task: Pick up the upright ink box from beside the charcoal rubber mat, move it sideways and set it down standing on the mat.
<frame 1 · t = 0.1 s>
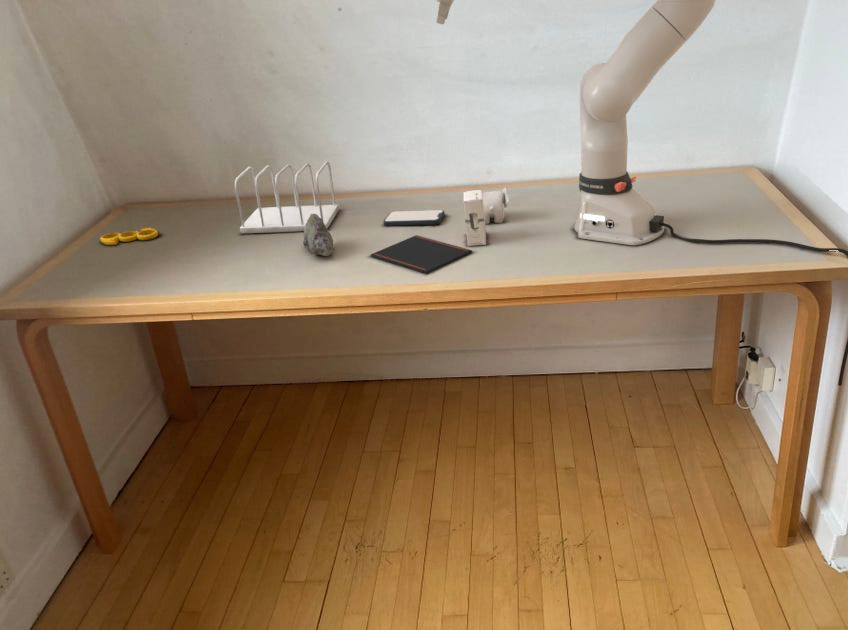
hand: (441, 21, 178), 52 cm above the table, tool tilted 20°, fingers open, 8 cm apart
mineral rock: (318, 253, 200), on the table
elephant figurine: (491, 220, 211), on the table
file sorter: (291, 222, 224), on the table
ink box: (476, 240, 199), on the table
smartphone: (414, 221, 216), on the table
yellow linked rings: (130, 239, 224), on the table
mat: (421, 254, 193), on the table
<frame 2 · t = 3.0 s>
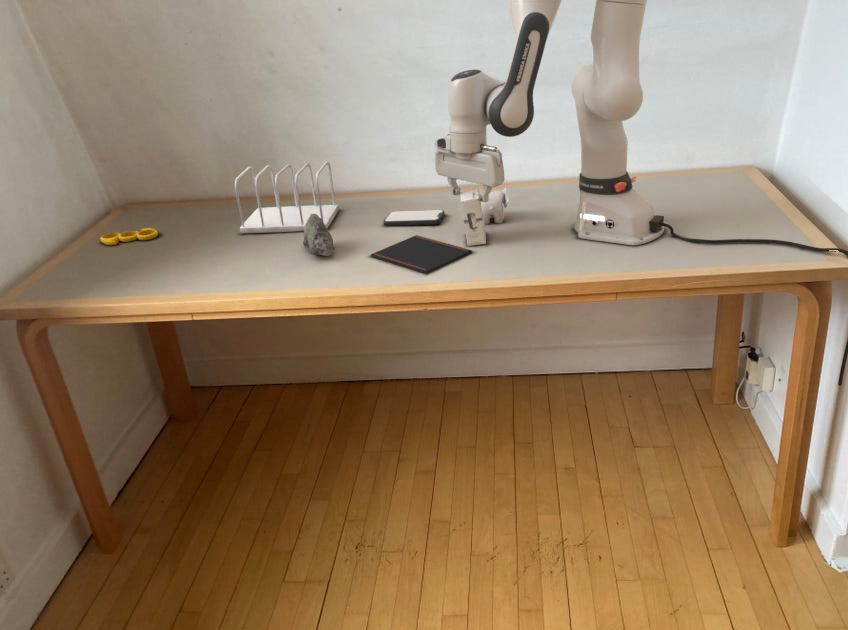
hand: (469, 198, 193), 11 cm above the table, tool pointing down, fingers open, 8 cm apart
ink box: (476, 240, 199), on the table, touching gripper
everything else where it was.
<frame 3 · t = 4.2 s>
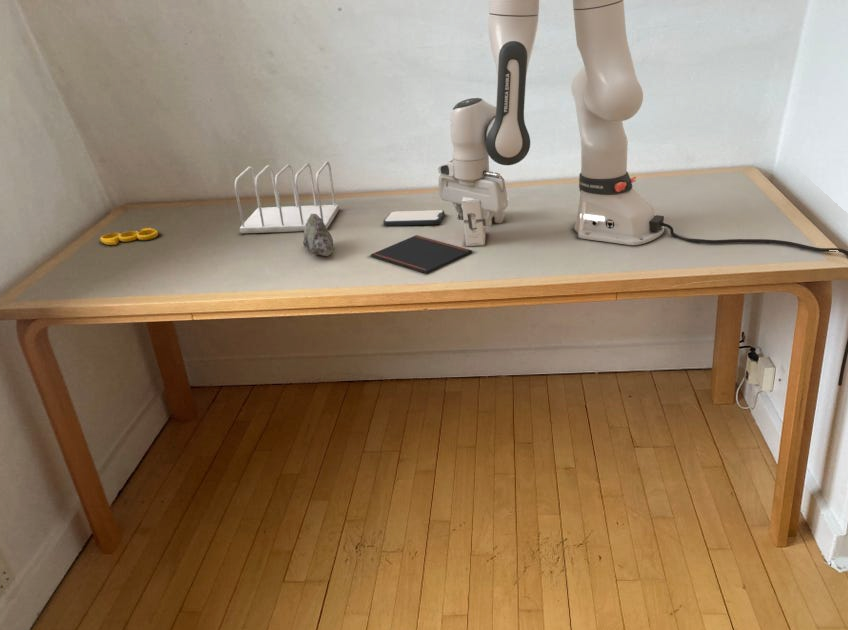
hand: (474, 222, 196), 5 cm above the table, tool pointing down, fingers closed on ink box, 7 cm apart
ink box: (475, 240, 199), on the table, touching gripper
everything else where it was.
when the fingers open (5 cm above the table, at t = 10.8 s): ink box stays where it is, resting on mat.
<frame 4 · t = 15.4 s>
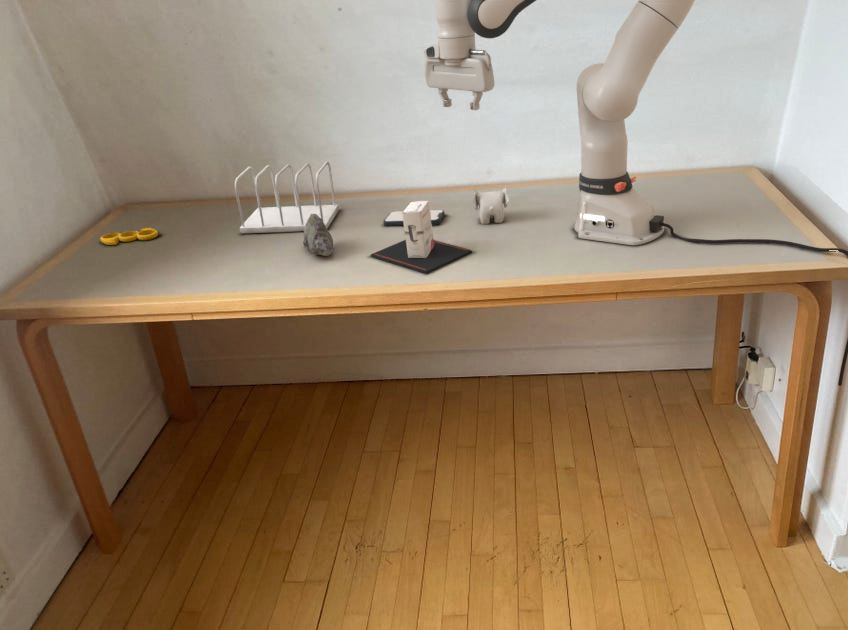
hand: (461, 108, 192), 31 cm above the table, tool pointing down, fingers open, 8 cm apart
ink box: (421, 252, 193), resting on mat
everything else where it was.
at the end: ink box inside the target area on the mat (0.1 cm from its centre), point 0.4 cm above the mat's base; ink box tilted 0°; ink box touching mat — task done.
